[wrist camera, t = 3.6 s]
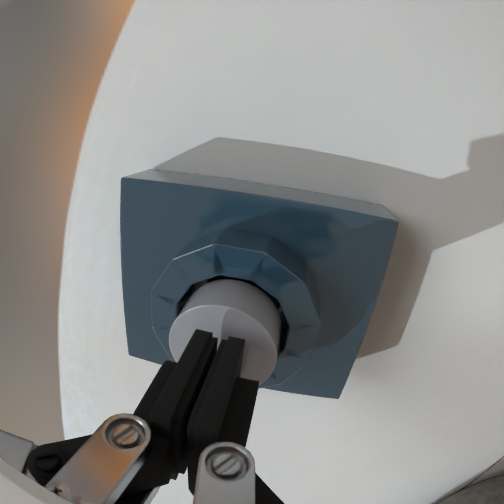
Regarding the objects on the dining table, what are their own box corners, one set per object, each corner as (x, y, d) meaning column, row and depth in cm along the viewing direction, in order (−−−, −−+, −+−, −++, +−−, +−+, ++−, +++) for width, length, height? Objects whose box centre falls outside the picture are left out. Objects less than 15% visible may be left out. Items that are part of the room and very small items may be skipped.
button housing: (148, 328, 20) (112, 377, 15) (149, 169, 16) (95, 185, 11) (336, 365, 19) (340, 427, 14) (382, 205, 15) (414, 236, 10)
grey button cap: (185, 349, 14) (169, 378, 12) (187, 269, 12) (167, 294, 11) (272, 367, 14) (267, 400, 12) (289, 289, 12) (286, 317, 10)
